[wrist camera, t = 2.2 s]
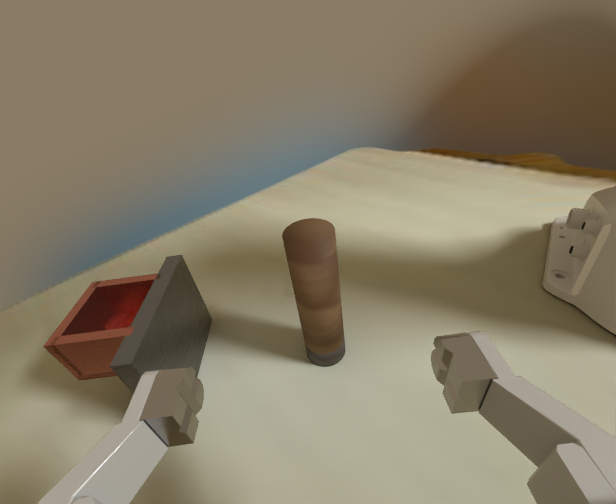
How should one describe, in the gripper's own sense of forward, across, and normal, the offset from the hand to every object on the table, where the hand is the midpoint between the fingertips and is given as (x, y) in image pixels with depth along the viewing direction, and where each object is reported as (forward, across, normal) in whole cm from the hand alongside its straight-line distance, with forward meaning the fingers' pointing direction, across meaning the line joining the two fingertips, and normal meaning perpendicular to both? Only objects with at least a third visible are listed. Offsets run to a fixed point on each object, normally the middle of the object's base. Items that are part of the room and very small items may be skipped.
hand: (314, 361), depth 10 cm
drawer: (+13, +17, +17) cm, 27 cm away
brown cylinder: (+13, 0, +17) cm, 21 cm away
